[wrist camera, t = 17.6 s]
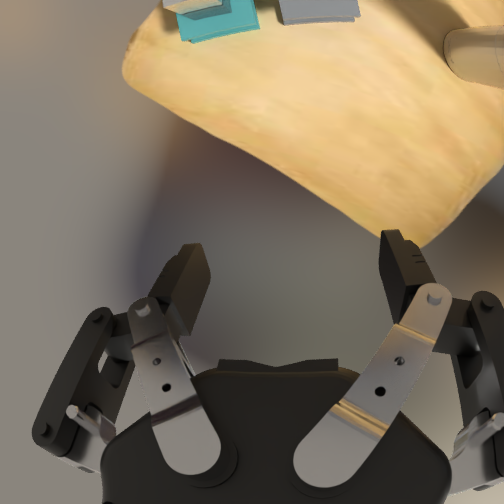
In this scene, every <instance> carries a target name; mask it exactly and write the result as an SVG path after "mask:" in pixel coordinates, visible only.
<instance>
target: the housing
mask: <svg viewBox="0 0 504 504" xmlns="http://www.w3.org/2000/svg"><path fill="white" fill-rule="evenodd" d="M163 7H164V8H166V9H168V10H171V11H173V12H176V13H178V14H182V15H183V16H186V17H188V18H190V19H192V20H195V21H196V20H200V19H204V18H208V17H213V16H218V15H223V14H228V13H232V9H231V2H230V0H163Z"/></svg>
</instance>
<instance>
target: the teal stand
mask: <svg viewBox="0 0 504 504" xmlns="http://www.w3.org/2000/svg"><path fill="white" fill-rule="evenodd" d="M230 2H231V9H232V13H228V14H223V15H218V16H213V17H208V18H204V19H200V20H196V21H195V20H192V19H190V18H188V17H186V16H183V15H182V14H178V13H176V17H177V21H178V26H179V31H180V36H181V40H182V41H187V40H191V43H193V44H194V43H198V42H201V41H205V40H209V39H213V38H217V37H221V36H226V35H230V34H235V33H240V32H245V31H251V30H256V29H260V26H259V22H258V17H257V13H256V8H255V4H254V0H230Z"/></svg>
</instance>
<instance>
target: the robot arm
mask: <svg viewBox="0 0 504 504" xmlns="http://www.w3.org/2000/svg"><path fill="white" fill-rule="evenodd" d="M443 47H444V55H445V58H446V61H447V63H448V65H449V67H450V68H451V69H452V71H453V72H454V73H455V74H456V75H457V76H458V77H460V78H461V79H463V80H465V81H468V82H473V83H478V84H483V85H487V86H492V87H496V88H500V89H504V25H499V26H483V27H473V28H463V29H456V30H452V31H451V32H449V33H448V34H447V35H446V37H445V40H444V45H443ZM379 272H380V276H381V280H382V283H383V286H384V290H385V293H386V296H387V300H388V304H389V307H390V311H391V315H392V319H393V323H394V326H393V328H392V329H391V331H390V332H389V334H388V336H387V337H386V339H385V340H384V342H383V343H382V345H381V346H380V348H379V349H378V351H377V352H376V354H375V355H374V356H373V358H372V359H371V361H370V362H369V364H368V365H367V367H366V368H365V369H364V371H363V372H362V373H361V374H359V373H357V372H355V371H352V370H349V369H346V368H342V367H338V359H319V360H305V361H301V362H297V363H293V364H289V365H284V366H280V367H273V366H268V365H264V364H260V363H256V362H252V361H248V360H225V359H220V360H219V363H218V367H217V368H213V369H209V370H206V371H204V372H201V373H199V374H197V375H195V373H194V371H193V369H192V367H191V365H190V363H189V361H188V359H187V357H186V355H185V352H184V351H183V348H182V346H181V344H180V342H179V338H180V335H182V336H190V335H191V332H192V330H193V327H194V324H195V321H196V319H197V316H198V313H199V311H200V308H201V305H202V302H203V300H204V297H205V294H206V292H207V289H208V286H209V284H210V279H211V274H210V269H209V266H208V263H207V260H206V257H205V253H204V250H203V248H202V245H201V244H200V243H193V244H184V245H183V246H182V248H181V250H180V251H179V253H178V255H175V256H173V257H172V258H171V259H170V260H169V261H168V262H167V263H166V265H165V266H164V268H163V271H162V272H161V273H160V275H159V277H158V278H157V280H156V282H155V284H154V286H153V287H152V289H151V291H150V292H149V294H148V296H147V297H143V298H140V299H138V300H136V301H135V302H133V304H131V305H130V307H129V308H128V311H127V312H125V313H121V314H117V315H113V313H112V312H111V310H110V309H109V308H107V307H101V308H98V309H95V310H94V311H92V313H90V314H89V315H88V317H87V318H86V320H85V321H84V323H83V325H82V327H81V328H80V331H79V332H78V334H77V335H76V337H75V339H74V341H73V343H72V345H71V347H70V348H69V350H68V352H67V354H66V356H65V358H64V360H63V361H62V363H61V365H60V367H59V369H58V371H57V374H56V375H55V378H54V379H53V382H52V384H51V386H50V388H49V390H48V392H47V394H46V397H45V399H44V401H43V403H42V405H41V408H40V410H39V412H38V414H37V417H36V419H35V422H34V425H33V428H32V437H33V440H34V442H35V443H36V444H37V445H39V446H40V447H42V448H43V449H45V450H47V451H48V452H50V453H51V454H52V455H53V456H55V457H57V458H59V459H60V460H62V461H64V462H66V463H68V464H70V465H72V466H74V467H77V468H79V469H81V470H83V471H85V472H88V473H92V472H97V473H100V474H101V478H102V486H103V499H102V504H444V502H445V500H446V498H447V496H450V495H454V494H457V493H461V492H464V491H467V490H470V489H474V490H476V491H481V490H484V489H487V488H489V487H492V486H494V485H496V484H499V483H501V482H503V481H504V308H503V306H502V304H501V302H500V300H499V299H498V298H497V297H496V296H495V295H494V294H492V293H490V292H487V291H479V292H476V293H475V294H474V295H473V297H472V299H471V301H468V300H462V299H456V298H452V296H451V294H450V292H449V291H448V289H446V288H445V287H444V286H442V285H440V284H437V283H436V281H435V278H434V277H433V274H432V272H431V270H430V268H429V266H428V265H427V263H426V261H425V258H424V257H423V256H422V253H421V251H420V249H419V247H418V246H417V245H416V244H414V243H413V242H412V241H411V240H404V238H403V236H402V235H401V233H400V231H399V230H398V229H394V230H382V231H381V239H380V251H379ZM104 351H105V352H106V354H107V355H108V357H107V359H106V361H105V364H104V366H103V368H102V370H101V372H100V373H99V371H98V362H99V360H100V358H101V356H102V354H103V352H104ZM431 351H432V352H439V353H445V354H450V355H451V360H452V364H453V368H454V373H455V377H456V382H457V387H458V393H459V398H460V404H461V410H462V418H463V425H464V427H463V428H462V429H461V430H460V431H459V433H458V434H457V436H456V438H455V441H454V450H453V454H452V456H451V458H450V460H448V458H447V456H446V455H445V453H444V452H443V451H442V450H441V449H439V447H438V446H437V445H435V444H434V443H433V442H432V441H431V440H430V439H429V438H428V437H427V436H426V435H425V434H424V433H423V432H422V431H421V430H420V429H419V428H418V427H417V426H416V425H415V424H414V423H413V422H411V420H410V419H409V418H407V417H406V416H405V415H404V414H403V413H402V412H401V411H400V409H401V407H402V406H403V404H404V402H405V401H406V399H407V397H408V395H409V394H410V392H411V390H412V388H413V387H414V385H415V383H416V381H417V379H418V377H419V375H420V374H421V372H422V370H423V368H424V366H425V364H426V362H427V360H428V358H429V356H430V354H431ZM135 366H136V369H137V372H138V376H139V379H140V383H141V386H142V389H143V392H144V395H145V399H146V401H147V405H148V407H149V410H150V411H149V412H148V413H147V414H145V415H144V416H143V417H141V418H140V419H139V420H137V421H136V422H135V423H133V424H132V425H131V426H129V427H128V428H127V429H125V430H124V431H123V432H121V433H120V434H118V435H117V436H116V427H115V422H116V418H117V415H118V413H119V410H120V407H121V404H122V401H123V398H124V396H125V392H126V390H127V387H128V384H129V382H130V379H131V376H132V373H133V371H134V368H135Z"/></svg>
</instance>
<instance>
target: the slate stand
mask: <svg viewBox="0 0 504 504" xmlns="http://www.w3.org/2000/svg"><path fill="white" fill-rule="evenodd" d="M279 4H280V8H281V12H282V17H283V21H284V26H285V25H295V24H307V23H324V22H354V21H355V19H354V17H360V16H361V15H360V10H359V6H358V1H357V0H279Z"/></svg>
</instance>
